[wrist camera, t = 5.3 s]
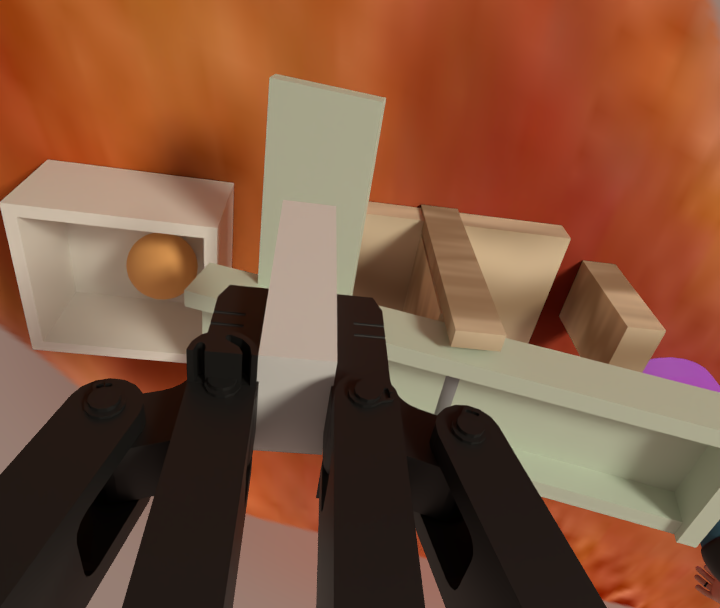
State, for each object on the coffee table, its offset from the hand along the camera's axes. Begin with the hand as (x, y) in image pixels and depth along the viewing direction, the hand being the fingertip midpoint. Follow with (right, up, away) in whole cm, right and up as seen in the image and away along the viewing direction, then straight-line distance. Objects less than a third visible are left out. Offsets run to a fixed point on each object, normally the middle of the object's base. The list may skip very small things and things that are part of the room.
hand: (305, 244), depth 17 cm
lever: (+6, -2, +7) cm, 9 cm away
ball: (-9, 0, +13) cm, 16 cm away
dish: (-10, +2, +15) cm, 18 cm away
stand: (+7, 0, +17) cm, 18 cm away
